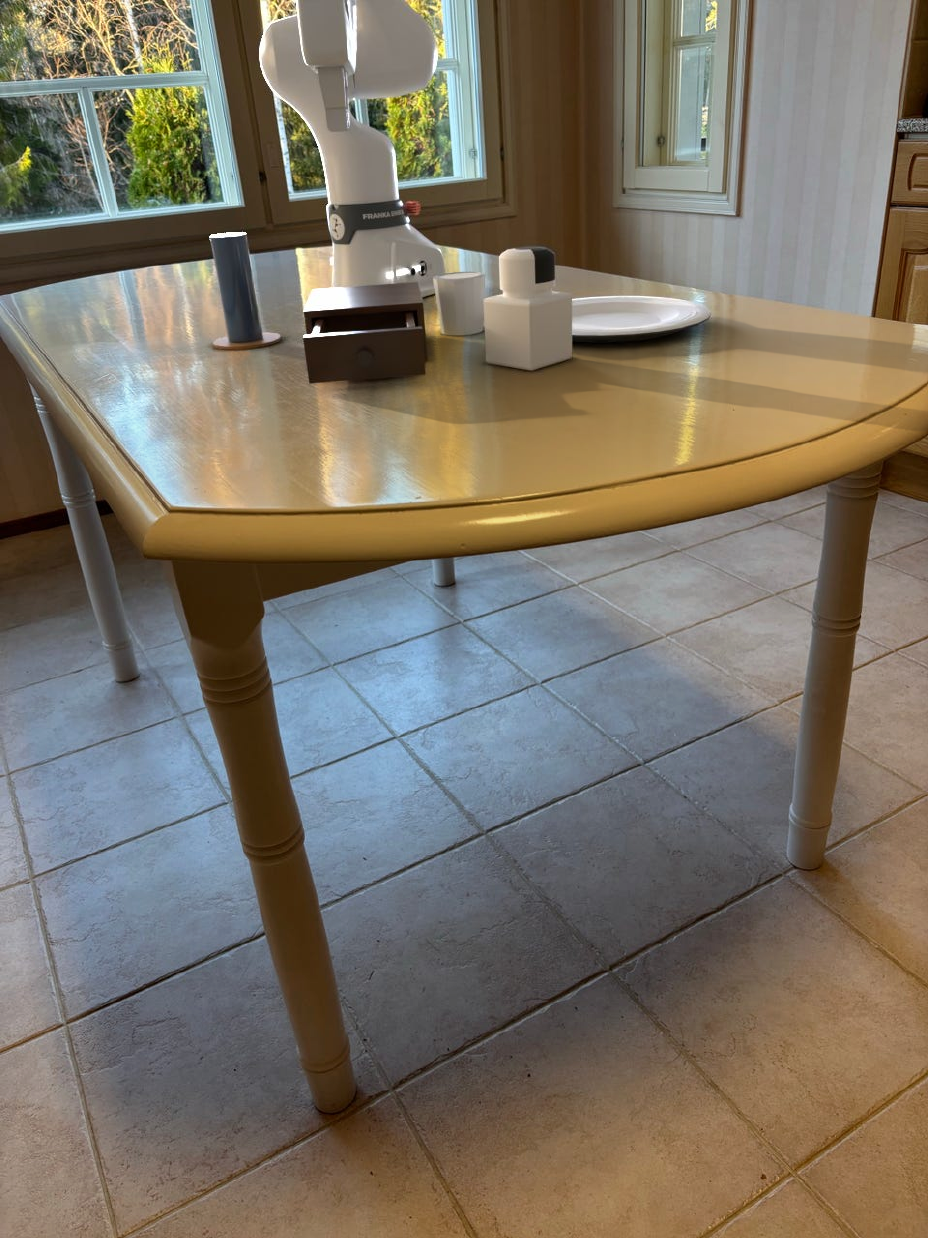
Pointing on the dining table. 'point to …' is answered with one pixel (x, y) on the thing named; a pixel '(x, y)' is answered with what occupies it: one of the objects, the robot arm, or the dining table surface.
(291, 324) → the dining table surface
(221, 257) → the cylinder
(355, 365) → the drawer
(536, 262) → the medicine bottle
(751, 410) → the dining table surface
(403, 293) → the cabinet
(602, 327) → the plate
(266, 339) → the coaster
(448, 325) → the white cup
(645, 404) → the dining table surface
